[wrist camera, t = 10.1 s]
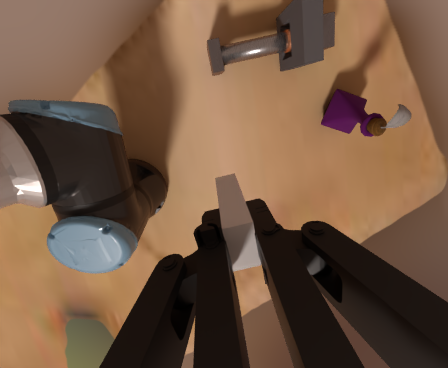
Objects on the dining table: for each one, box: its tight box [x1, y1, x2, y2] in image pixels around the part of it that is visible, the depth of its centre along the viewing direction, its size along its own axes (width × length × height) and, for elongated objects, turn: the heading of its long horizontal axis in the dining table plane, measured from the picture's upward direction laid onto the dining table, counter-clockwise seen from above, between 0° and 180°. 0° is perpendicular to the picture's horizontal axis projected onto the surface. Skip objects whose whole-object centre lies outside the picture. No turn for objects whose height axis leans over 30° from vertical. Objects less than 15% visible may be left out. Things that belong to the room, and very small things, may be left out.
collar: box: [276, 0, 324, 72], centre depth 36 cm, size 3×9×12 cm, turn 11°
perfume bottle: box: [321, 89, 411, 137], centre depth 40 cm, size 8×8×18 cm
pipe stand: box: [207, 12, 335, 76], centre depth 39 cm, size 22×5×7 cm, turn 101°
